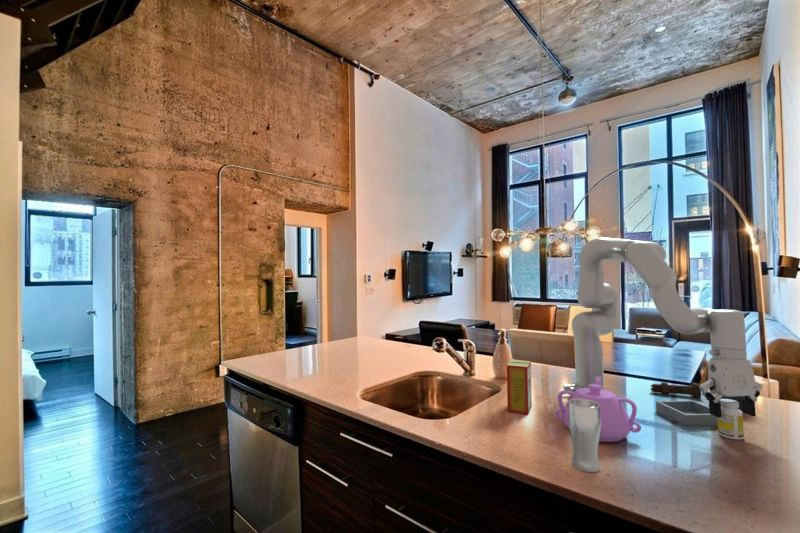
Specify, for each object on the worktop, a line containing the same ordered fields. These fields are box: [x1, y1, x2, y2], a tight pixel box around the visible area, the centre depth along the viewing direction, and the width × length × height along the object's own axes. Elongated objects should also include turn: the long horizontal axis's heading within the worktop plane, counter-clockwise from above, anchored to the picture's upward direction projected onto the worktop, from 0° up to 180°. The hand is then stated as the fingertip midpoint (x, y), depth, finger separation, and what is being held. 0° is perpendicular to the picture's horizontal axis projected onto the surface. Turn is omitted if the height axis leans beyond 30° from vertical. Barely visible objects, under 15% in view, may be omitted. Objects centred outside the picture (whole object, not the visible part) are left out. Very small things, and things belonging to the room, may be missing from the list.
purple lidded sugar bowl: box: [554, 376, 642, 443], centre depth 111 cm, size 22×22×14 cm
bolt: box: [650, 382, 702, 399], centre depth 142 cm, size 6×5×15 cm
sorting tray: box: [655, 399, 718, 428], centre depth 119 cm, size 13×13×4 cm
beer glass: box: [568, 399, 601, 474], centre depth 90 cm, size 7×7×15 cm
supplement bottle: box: [717, 399, 745, 441], centre depth 106 cm, size 5×5×10 cm
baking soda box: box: [506, 359, 533, 416], centre depth 129 cm, size 10×6×16 cm
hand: (732, 415), depth 105 cm, fingers open, 9 cm apart
